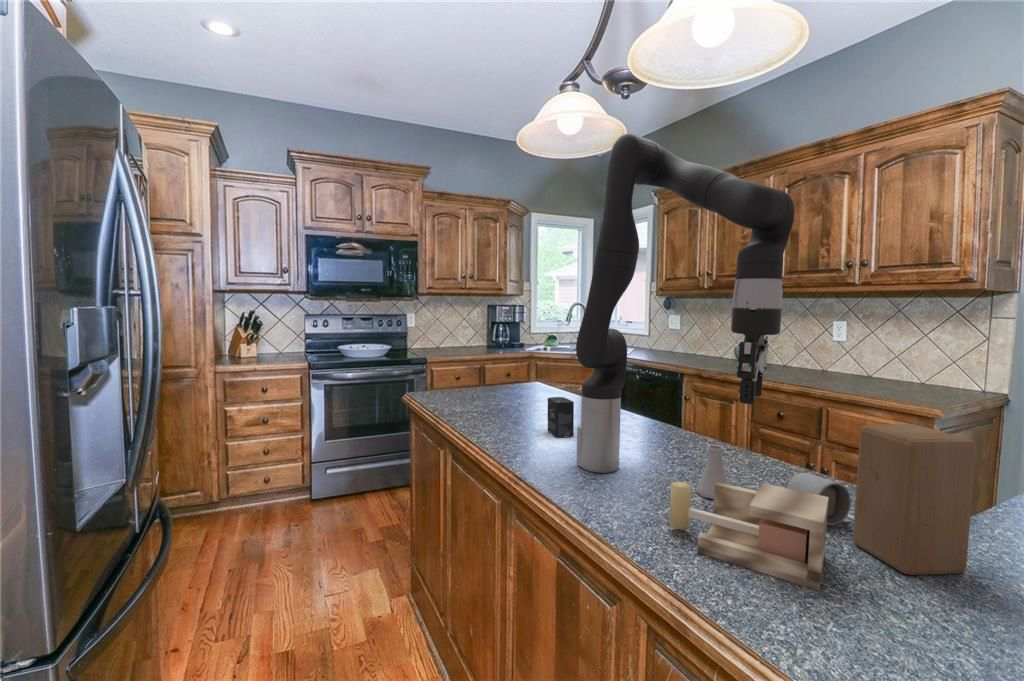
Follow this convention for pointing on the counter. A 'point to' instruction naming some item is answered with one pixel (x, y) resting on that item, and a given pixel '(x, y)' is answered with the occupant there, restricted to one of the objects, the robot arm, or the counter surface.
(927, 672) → the counter surface
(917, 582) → the counter surface
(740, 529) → the pull block
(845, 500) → the ceramic mug
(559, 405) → the box
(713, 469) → the flask
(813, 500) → the shelf
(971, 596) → the counter surface
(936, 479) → the wooden block
